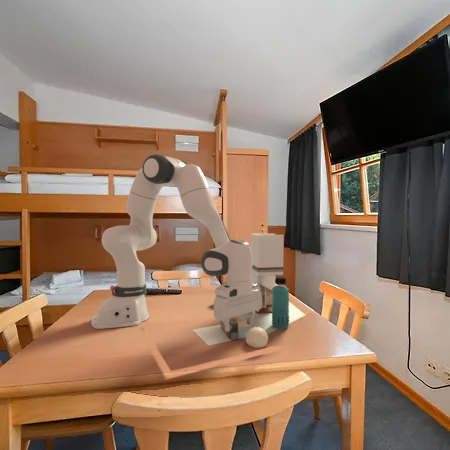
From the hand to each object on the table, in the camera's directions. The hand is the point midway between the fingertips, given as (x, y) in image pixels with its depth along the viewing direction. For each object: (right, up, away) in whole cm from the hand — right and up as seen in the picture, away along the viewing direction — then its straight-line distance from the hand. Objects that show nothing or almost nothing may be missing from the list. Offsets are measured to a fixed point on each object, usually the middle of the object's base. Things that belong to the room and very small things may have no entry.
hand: (239, 327), depth 100 cm
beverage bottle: (+16, -5, +10) cm, 19 cm away
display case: (+14, -4, +30) cm, 33 cm away
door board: (-4, -5, +4) cm, 7 cm away
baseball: (+5, -5, -6) cm, 9 cm away
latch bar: (-3, -3, +1) cm, 4 cm away
